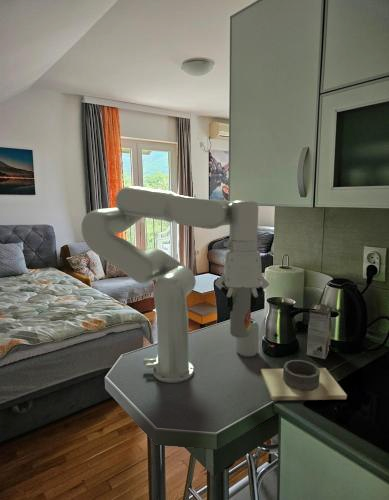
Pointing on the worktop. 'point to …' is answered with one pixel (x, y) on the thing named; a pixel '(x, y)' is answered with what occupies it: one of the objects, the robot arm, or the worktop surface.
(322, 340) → the coffee box
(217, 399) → the worktop surface
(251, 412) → the worktop surface
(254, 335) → the can
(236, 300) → the lotion bottle
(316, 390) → the bottle holder
